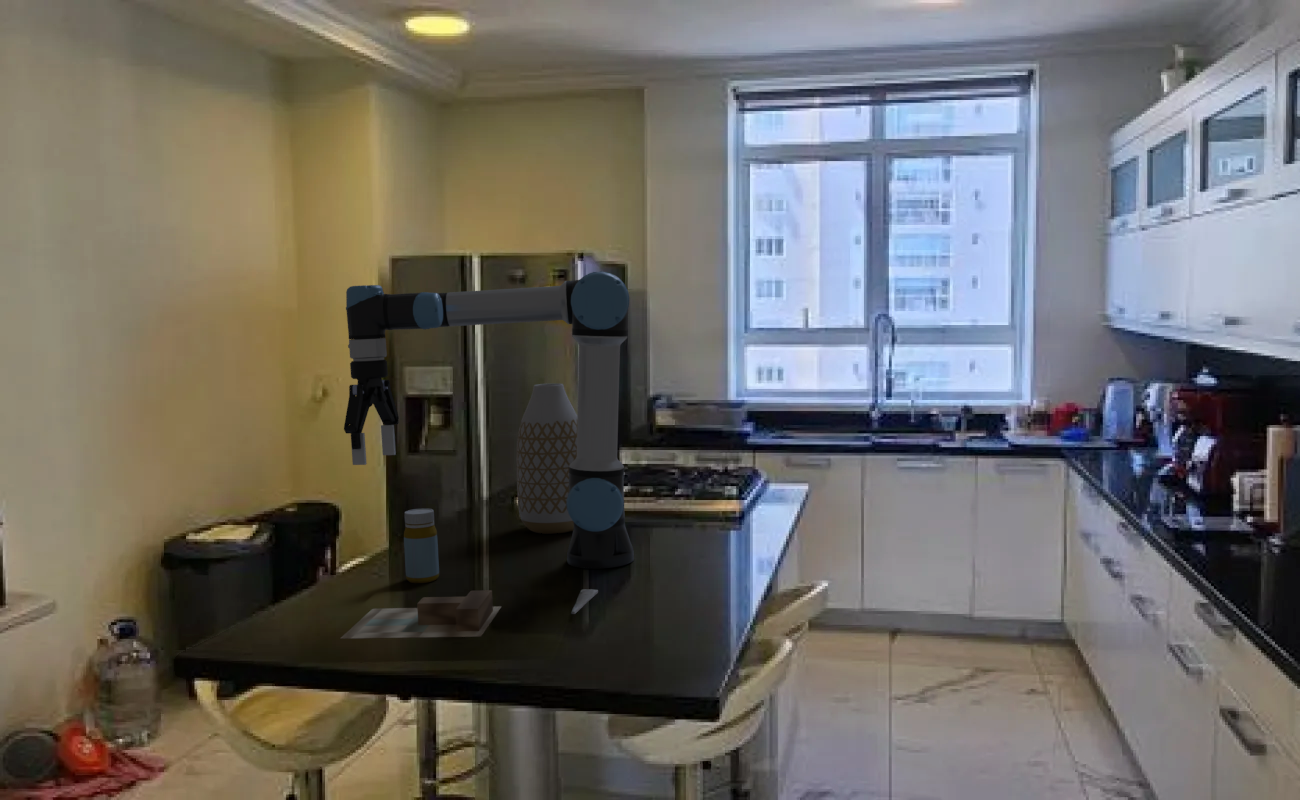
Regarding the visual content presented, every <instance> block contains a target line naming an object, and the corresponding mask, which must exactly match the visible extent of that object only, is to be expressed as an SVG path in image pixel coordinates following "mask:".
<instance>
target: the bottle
mask: <svg viewBox="0 0 1300 800" xmlns="http://www.w3.org/2000/svg"><path fill="white" fill-rule="evenodd" d="M404 525H405V528H404V531H403V546H404V547H403V549H404V563H405V564H404V565H405V578H406V580H407V581H408V582H409V583H412V584H426V583H432V582H434V581H436V580H438V578H439V576H440V566H439V565H440V564H439V545H438V530H437V528H436V526H435V512H434V509H432V508H413V509H409V510H406V511H404Z"/></svg>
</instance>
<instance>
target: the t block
mask: <svg viewBox="0 0 1300 800" xmlns="http://www.w3.org/2000/svg"><path fill="white" fill-rule="evenodd" d="M493 603H494V602H493V590H492V589H491V590H489V589H488V590H485V589H483V590H482V589H481V590H470V591H469V592H468V593H467V595H466V596H430V597H429V596H426V597H425V596H424V597H422V598H421V599H420V600H419V601H418V602H417V603H416V604H417V605H416V608H417V609H418V625H456V626H457V631H479V630H480V629H481V628H482V626H483V625H484V623H485V622H486V620H487V619H488V618H489V616H490V615H491V613H492V612H493V607H494V604H493Z"/></svg>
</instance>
